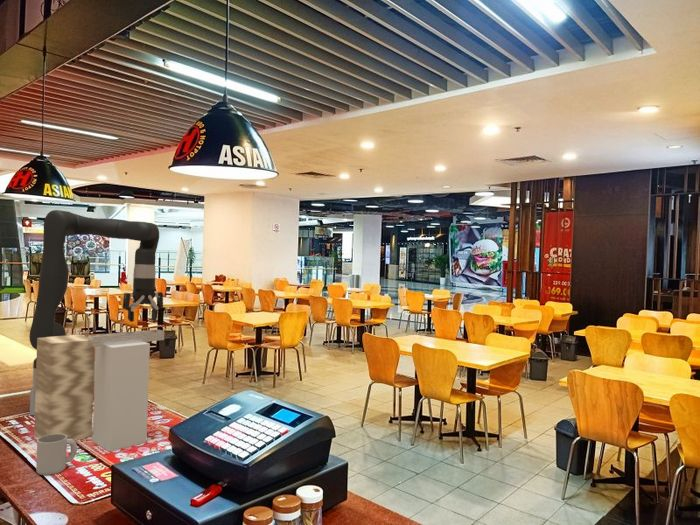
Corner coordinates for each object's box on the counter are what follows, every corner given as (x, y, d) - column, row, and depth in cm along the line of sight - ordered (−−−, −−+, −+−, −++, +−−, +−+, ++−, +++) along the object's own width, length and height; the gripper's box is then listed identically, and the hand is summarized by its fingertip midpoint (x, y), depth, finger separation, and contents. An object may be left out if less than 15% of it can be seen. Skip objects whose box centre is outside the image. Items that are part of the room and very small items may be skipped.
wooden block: (92, 346, 158) (93, 337, 158) (87, 345, 161) (88, 335, 161) (164, 339, 175) (164, 331, 175) (158, 338, 177) (158, 329, 177)
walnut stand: (48, 446, 161) (51, 343, 160) (34, 435, 170) (37, 337, 169) (91, 436, 171) (94, 339, 170) (76, 426, 179) (79, 334, 179)
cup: (33, 468, 145) (34, 437, 145) (73, 460, 151) (74, 430, 151) (38, 477, 139) (39, 444, 139) (79, 469, 146) (80, 437, 146)
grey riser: (109, 451, 159) (112, 347, 158) (92, 441, 166) (95, 342, 166) (146, 442, 167) (149, 343, 167) (129, 432, 175) (132, 338, 175)
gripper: (130, 277, 182) (128, 323, 182) (167, 277, 193) (166, 320, 193) (120, 276, 187) (118, 320, 187) (157, 276, 198) (156, 318, 198)
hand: (142, 320), depth 190 cm, fingers open, 8 cm apart
